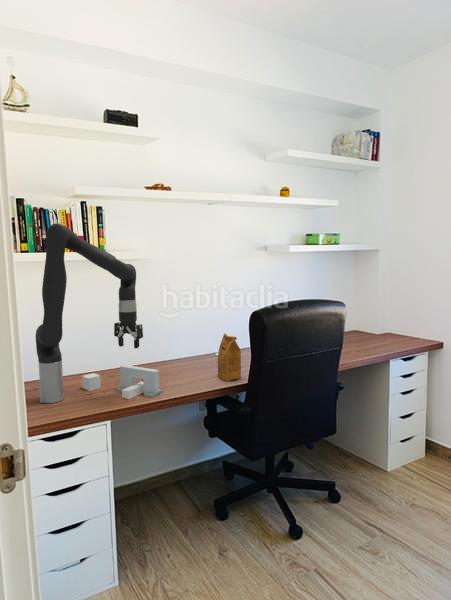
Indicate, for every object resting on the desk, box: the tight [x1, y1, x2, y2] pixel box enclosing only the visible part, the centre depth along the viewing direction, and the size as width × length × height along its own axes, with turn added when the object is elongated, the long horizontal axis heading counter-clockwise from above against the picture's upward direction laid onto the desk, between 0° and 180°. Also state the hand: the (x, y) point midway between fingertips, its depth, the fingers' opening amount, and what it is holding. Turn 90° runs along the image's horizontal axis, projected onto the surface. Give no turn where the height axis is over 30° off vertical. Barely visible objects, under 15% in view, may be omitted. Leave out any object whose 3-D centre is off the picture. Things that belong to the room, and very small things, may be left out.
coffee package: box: [217, 333, 242, 382], centre depth 210 cm, size 10×12×22 cm
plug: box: [121, 378, 144, 400], centre depth 190 cm, size 19×4×4 cm, turn 152°
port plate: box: [116, 364, 164, 399], centre depth 190 cm, size 8×20×11 cm, turn 62°
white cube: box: [81, 373, 102, 392], centre depth 197 cm, size 6×6×6 cm
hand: (128, 347), depth 183 cm, fingers open, 8 cm apart
